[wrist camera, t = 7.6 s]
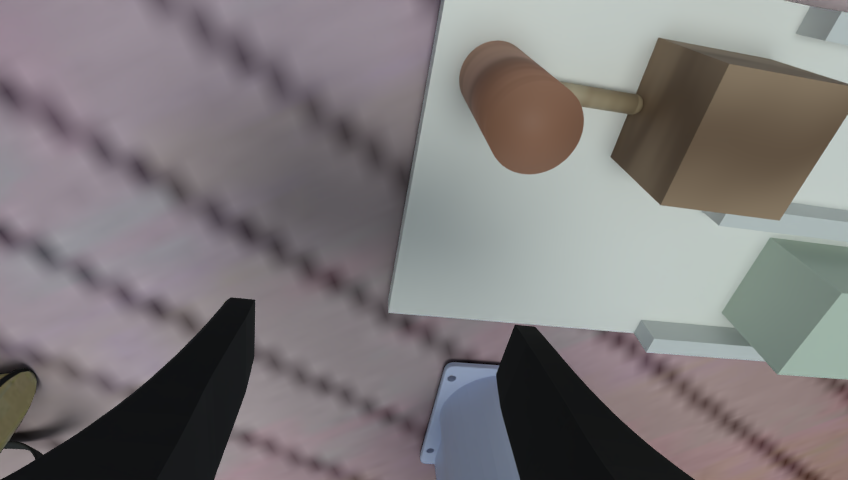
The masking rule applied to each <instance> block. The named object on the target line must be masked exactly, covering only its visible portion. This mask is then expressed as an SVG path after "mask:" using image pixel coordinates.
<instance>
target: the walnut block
mask: <svg viewBox="0 0 848 480" xmlns="http://www.w3.org/2000/svg"><path fill="white" fill-rule="evenodd" d="M459 85H460V90H461V93H462V96H463V97H464V99H465V101H466V103H467V105H468V107H469V109H470V111H471V113H472V115H473V117H474V118H475V120H476V122H477V124H478V126H479V128H480V130H481V132H482V134H483V136H484V138H485V139H486V141H487V143H488V145H489V147H490V149H491V151H492V153H493V155H494V156H495V158H496V159H497V160H498V162H499V163H500V164H501V165H502V166H504V167H505V168H507V169H509V170H511V171H513V172H516V173H520V174H538V173H542V172H546V171H548V170H551V169H553V168H555V167H556V166H558V165H559V164H561V163H562V162H563V161H565V160H566V159H567V158H568V157H569V156H570V155H571V154H572V152H573V151H574V149H575V148H576V146H577V145H578V143H579V141H580V138H581V135H582V132H583V127H584V115H583V110H582V107H586V108H593V109H599V110H605V111H611V112H618V113H624V114H627V117H626V119H625V122H624V124H623V127H622V129H621V132H620V134H619V137H618V139H617V142H616V144H615V147H614V149H613V152H612V154H611V158H612V159H613V160H614V161H615V162H616V163H617V164H618V165H619V166H620V167H621V168H622V169H623V170H624V171H625V172H626V173H628V174H629V175H630V176H631V177H632V178H633V179H634V180H635V181H636V182H637V183H638V184H639V185H640V186H641V187H642V188H643V189H644V190H645V191H646V192H647V193H648V194H649V195H650V196H651V197H653V198H654V199H655V200H656V201H657V202H658V203H659V204H660V205H662V206H670V207H678V208H686V209H693V210H701V211H709V212H717V213H724V214H732V215H740V216H748V217H755V218H763V219H771V220H779V221H780V219H781V218H782V216H783V214H784V213H785V211H786V210H787V208H788V207H789V205H790V204H791V202H792V200H793V199H794V197H795V196H796V194H797V193H798V191H799V190H800V188H801V186H802V185H803V183H804V182H805V180H806V179H807V177H808V176H809V174H810V172H811V171H812V169H813V168H814V166H815V165H816V163H817V162H818V160H819V158H820V157H821V155H822V154H823V152H824V151H825V149H826V148H827V146H828V145H829V143H830V141H831V140H832V138H833V137H834V135H835V134H836V132H837V131H838V129H839V127H840V126H841V124H842V123H843V121H844V120H845V118H846V117H847V115H848V84H847V83H844V82H841V81H838V80H835V79H832V78H829V77H825V76H822V75H819V74H816V73H813V72H810V71H807V70H803V69H800V68H797V67H794V66H791V65H788V64H785V63H781V62H778V61H775V60H772V59H768V58H763V57H758V56H752V55H747V54H742V53H737V52H731V51H726V50H721V49H716V48H710V47H705V46H700V45H695V44H689V43H684V42H679V41H674V40H668V39H663V38H658V40H657V42H656V45H655V47H654V50H653V52H652V55H651V57H650V60H649V62H648V65H647V67H646V70H645V72H644V75H643V77H642V80H641V82H640V85H639V87H638V90H637V92H636V94H632V93H626V92H620V91H614V90H608V89H602V88H596V87H590V86H584V85H578V84H572V83H566V82H560V81H558V80H557V79H556V78H555V77H553V76H552V75H551V74H550V73H548V72H547V71H546V70H545V69H543V68H542V67H541V66H540V65H539V64H537V63H536V62H535V61H534V60H532V59H531V58H530V57H529V56H527V55H526V54H525V53H524V52H523V51H521V50H520V49H519V48H518V47H516V46H515V45H513V44H511V43H509V42H506V41H499V40H497V41H489V42H486V43H483V44H481V45H479V46H478V47H476V48H475V49H474V50H473V51H472V52H471V53H470V54H469V55H468V56H467V58H466V59H465V61H464V62H463V65H462V67H461V70H460V75H459Z"/></svg>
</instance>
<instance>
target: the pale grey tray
mask: <svg viewBox="0 0 848 480" xmlns="http://www.w3.org/2000/svg"><path fill="white" fill-rule="evenodd" d="M658 38H663V39H668V40H674V41H679V42H684V43H689V44H695V45H700V46H705V47H710V48H716V49H721V50H726V51H731V52H737V53H742V54H747V55H752V56H758V57H763V58H768V59H772V60H775V61H778V62H781V63H785V64H788V65H791V66H794V67H797V68H800V69H803V70H807V71H810V72H813V73H816V74H819V75H822V76H825V77H829V78H832V79H835V80H838V81H841V82H844V83H847V84H848V13H847V12H842V11H836V10H830V9H824V8H818V7H812V6H807V5H803V4H798V3H794V2H789V1H784V0H441V4H440V9H439V15H438V20H437V26H436V32H435V37H434V43H433V49H432V54H431V60H430V66H429V71H428V77H427V83H426V88H425V94H424V100H423V105H422V111H421V117H420V122H419V128H418V133H417V139H416V145H415V150H414V156H413V162H412V167H411V173H410V179H409V184H408V190H407V196H406V201H405V207H404V213H403V218H402V224H401V230H400V235H399V241H398V246H397V252H396V258H395V263H394V269H393V275H392V280H391V286H390V292H389V297H388V313H397V314H410V315H422V316H434V317H446V318H458V319H470V320H482V321H494V322H506V323H518V324H531V325H543V326H555V327H567V328H579V329H591V330H603V331H615V332H627V333H634V334H635V336H636V337H637V339H638V340H639V342H640V343H641V345H642V346H643V348H644V350H645V351H646V352H648V353H661V354H674V355H687V356H701V357H714V358H727V359H740V360H753V361H765V360H764V359H763V358H762V357H761V356H760V355H759V354H758V352H757V351H756V350H755V349H754V348H753V347H752V346H751V345H750V344H749V343H748V341H747V340H746V339H745V338H744V337H743V336H742V335H741V334H740V333H739V331H738V330H737V329H736V328H735V327H734V326H733V325H732V324H731V323H730V322H729V320H728V319H727V318H726V317H725V316H724V315H723V314H722V311H723V309H724V308H725V306H726V305H727V303H728V302H729V300H730V299H731V297H732V296H733V294H734V292H735V291H736V289H737V288H738V286H739V285H740V283H741V282H742V280H743V279H744V277H745V275H746V274H747V272H748V271H749V269H750V268H751V266H752V265H753V263H754V262H755V260H756V258H757V257H758V255H759V254H760V252H761V251H762V249H763V248H764V246H765V245H766V243H767V242H768V240H769V238H778V239H786V240H794V241H803V242H811V243H819V244H827V245H835V246H843V247H848V115H847V117H846V118H845V120H844V121H843V123H842V124H841V126H840V127H839V129H838V131H837V132H836V134H835V135H834V137H833V138H832V140H831V141H830V143H829V145H828V146H827V148H826V149H825V151H824V152H823V154H822V155H821V157H820V158H819V160H818V162H817V163H816V165H815V166H814V168H813V169H812V171H811V172H810V174H809V176H808V177H807V179H806V180H805V182H804V183H803V185H802V186H801V188H800V190H799V191H798V193H797V194H796V196H795V197H794V199H793V200H792V202H791V204H790V205H789V207H788V208H787V210H786V211H785V213H784V214H783V216H782V218H781V219H780V221H779V220H771V219H763V218H755V217H748V216H740V215H732V214H724V213H717V212H709V211H701V210H693V209H686V208H678V207H670V206H662V205H660V204H659V203H658V202H657V201H656V200H655V199H654V198H653V197H651V196H650V195H649V194H648V193H647V192H646V191H645V190H644V189H643V188H642V187H641V186H640V185H639V184H638V183H637V182H636V181H635V180H634V179H633V178H632V177H631V176H630V175H629V174H628V173H626V172H625V171H624V170H623V169H622V168H621V167H620V166H619V165H618V164H617V163H616V162H615V161H614V160H613V159H612V158H611V154H612V152H613V149H614V147H615V144H616V142H617V139H618V137H619V134H620V132H621V129H622V127H623V124H624V122H625V119H626V117H627V114H624V113H618V112H611V111H605V110H599V109H593V108H586V107H582V110H583V115H584V127H583V132H582V135H581V138H580V141H579V143H578V145H577V146H576V148H575V149H574V151H573V152H572V154H571V155H570V156H569V157H568V158H567V159H566V160H565V161H563V162H562V163H561V164H559V165H558V166H556V167H555V168H553V169H551V170H548V171H546V172H542V173H538V174H520V173H516V172H513V171H511V170H509V169H507V168H505V167H504V166H502V165H501V164H500V163H499V162H498V160H497V159H496V158H495V156H494V155H493V153H492V151H491V149H490V147H489V145H488V143H487V141H486V139H485V138H484V136H483V134H482V132H481V130H480V128H479V126H478V124H477V122H476V120H475V118H474V117H473V115H472V113H471V111H470V109H469V107H468V105H467V103H466V101H465V99H464V97H463V96H462V93H461V90H460V85H459V75H460V70H461V67H462V65H463V62H464V61H465V59H466V58H467V56H468V55H469V54H470V53H471V52H472V51H473V50H474V49H475V48H476V47H478V46H479V45H481V44H483V43H486V42H489V41H497V40H499V41H506V42H509V43H511V44H513V45H515V46H516V47H518V48H519V49H520V50H521V51H523V52H524V53H525V54H526V55H527V56H529V57H530V58H531V59H532V60H534V61H535V62H536V63H537V64H539V65H540V66H541V67H542V68H543V69H545V70H546V71H547V72H548V73H550V74H551V75H552V76H553V77H555V78H556V79H557V80H558V81H560V82H566V83H572V84H578V85H584V86H590V87H596V88H602V89H608V90H614V91H620V92H626V93H632V94H636V92H637V90H638V87H639V85H640V82H641V80H642V77H643V75H644V72H645V70H646V67H647V65H648V62H649V60H650V57H651V55H652V52H653V50H654V47H655V45H656V42H657V40H658Z"/></svg>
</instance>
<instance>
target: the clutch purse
mask: <svg viewBox="0 0 848 480" xmlns="http://www.w3.org/2000/svg"><path fill="white" fill-rule="evenodd" d="M36 384H37V380H36V377H35V374H34V373H33V372H32V371H30V370H29V369H27V368H24V369H18V370H14V371H13V372H11V373H8V374H0V453H1V451H2V450H3V449H26V450H30V451H31V453H32V454H33V455H34V457H35V460H36V459H38V458H39V457H41V456H43V454H42V453H40V452H39V451H37V450H35V449H33V448H32V447H30V446H28V445H26V444H24V443H21V442H15V441H9V440H10V438H11V437H12V435H13V434H14V432H15V431H16V429H17V428H18V426H19V425H20V423H21V422H22V420H23V418H24V416H25V414H26V412H27V411H28V409H29V407H30V405H31V402H32V400H33V397H34V394H35V392H36Z"/></svg>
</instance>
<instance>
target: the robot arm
mask: <svg viewBox="0 0 848 480" xmlns="http://www.w3.org/2000/svg"><path fill="white" fill-rule="evenodd" d="M254 340H255V300H251V299H241V298H230V299H228V300H227V301H226V302H225V303H224V304H223V305H222V307H221V308H220V309H219V310H218V311H217V313H216V314H215V315H214V316H213V317H212V318H211V319H210V321H209V322H208V323H207V324H206V325H205V326H204V327H203V328H202V329H201V330H200V331H199V333H198V334H197V335H196V336H195V337H194V338H193V339H192V340H191V341H190V342H189V343H188V344H187V345H186V346H185V347H184V348H183V349H182V350H181V351H180V352H179V353H178V354H177V355H176V356H175V357H174V358H173V359H171V360H170V361H169V362H168V363H167V364H166V365H165V366H164V367H163V368H162V369H160V370H159V371H158V372H157V373H156V374H155V375H154V376H153V377H152V378H150V379H149V380H148V381H147V382H146V383H145V384H143V385H142V386H141V387H140V388H139V389H137V390H136V391H135V392H134V393H132V394H131V395H130V396H129V397H127V398H126V399H125V400H124V401H122V402H121V403H120V404H118V405H117V406H116V407H114V408H113V409H112V410H110V411H109V412H108V413H106V414H105V415H103V416H102V417H101V418H99V419H98V420H96V421H95V422H94V423H92V424H91V425H89V426H88V427H86V428H85V429H84V430H82V431H81V432H79V433H78V434H76V435H75V436H73V437H72V438H70V439H69V440H67V441H65V442H64V443H62V444H60V445H59V446H57V447H56V448H54V449H52V450H51V451H49V452H47V453H46V454H44V455H43V456H41V457H39V458H38V459H36V460H34V461H33V462H31V463H30V464H28V465H26V466H24V467H23V468H21V469H19V470H18V471H16V472H14V473H12V474H10V475H9V476H7V477H5V478H3V479H1V480H214V478H215V475H216V472H217V469H218V467H219V464H220V461H221V458H222V456H223V453H224V450H225V447H226V445H227V442H228V439H229V437H230V434H231V431H232V428H233V426H234V423H235V420H236V417H237V415H238V412H239V409H240V406H241V404H242V401H243V398H244V395H245V392H246V389H247V385H248V380H249V376H250V372H251V368H252V364H253V359H254ZM452 375H453V376H452ZM420 461H421V462H422V463H425V464H435V472H436V480H694V479H693V478H692V477H690V476H689V475H688V474H686V473H685V472H683V471H682V470H681V469H679V468H678V467H677V466H675V465H674V464H673V463H671V462H670V461H669V460H667V459H666V458H665V457H664V456H662V455H661V454H660V453H658V452H657V451H656V450H655V449H653V448H652V447H651V446H650V445H649V444H647V443H646V442H645V441H644V440H643V439H641V438H640V437H639V436H638V435H637V434H636V433H635V432H633V431H632V430H631V429H630V428H629V427H628V426H627V425H626V424H624V423H623V422H622V421H621V420H620V419H619V418H618V417H617V416H616V415H615V414H614V413H613V412H612V411H611V410H610V409H609V408H608V407H607V406H606V405H605V404H604V403H603V402H602V401H601V400H600V399H599V398H598V397H597V396H596V395H595V394H594V393H593V392H592V391H591V390H590V389H589V388H588V387H587V386H586V385H585V383H584V382H583V381H582V380H581V379H580V378H579V377H578V376H577V375H576V373H575V372H574V371H573V370H572V369H571V368H570V367H569V365H568V364H567V363H566V362H565V361H564V360H563V359H562V357H561V356H560V355H559V354H558V353H557V352H556V350H555V349H554V348H553V347H552V346H551V344H550V343H549V342H548V341H547V340H546V339H545V337H544V336H543V335H542V334H541V333H540V332H539V331H538V330H537V328H536V327H532V326H521V325H515V326H514V329H513V331H512V334H511V337H510V339H509V342H508V344H507V347H506V350H505V352H504V355H503V357H502V360H501V363H500V365H489V364H474V363H459V362H451V363H448V364H447V365H446V366H445V368H444V371H443V375H442V378H441V382H440V386H439V389H438V393H437V396H436V400H435V403H434V407H433V410H432V414H431V418H430V421H429V425H428V428H427V432H426V435H425V439H424V443H423V446H422V450H421V453H420Z"/></svg>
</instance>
